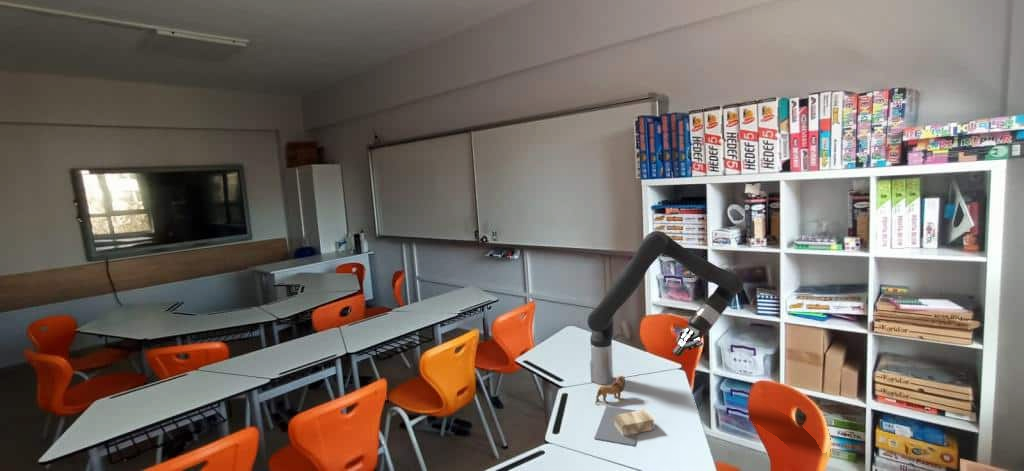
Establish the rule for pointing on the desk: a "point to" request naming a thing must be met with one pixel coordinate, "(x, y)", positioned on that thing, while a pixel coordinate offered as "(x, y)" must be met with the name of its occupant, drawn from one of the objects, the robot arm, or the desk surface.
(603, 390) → the lion figurine
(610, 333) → the robot arm
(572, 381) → the desk surface
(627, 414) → the birch block
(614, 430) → the slate mat
